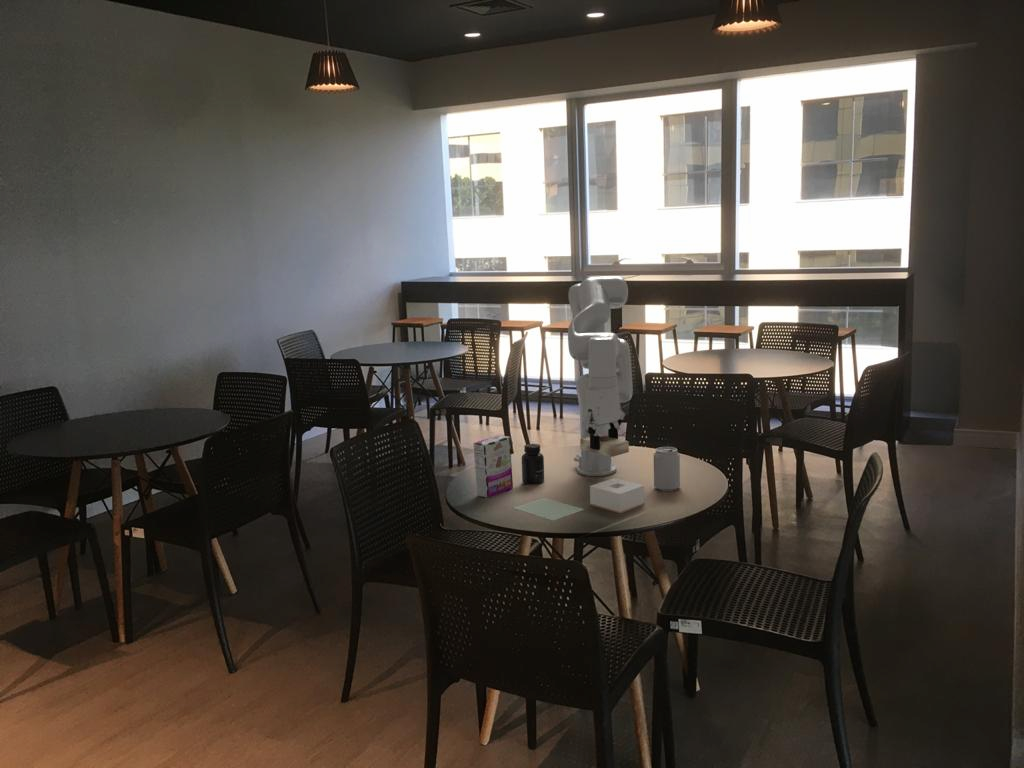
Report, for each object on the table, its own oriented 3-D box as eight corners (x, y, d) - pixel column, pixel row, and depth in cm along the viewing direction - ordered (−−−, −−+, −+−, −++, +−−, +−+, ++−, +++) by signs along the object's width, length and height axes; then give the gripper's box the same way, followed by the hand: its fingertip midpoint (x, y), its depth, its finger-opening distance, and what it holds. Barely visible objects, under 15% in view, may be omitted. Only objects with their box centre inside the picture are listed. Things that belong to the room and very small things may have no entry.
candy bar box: (501, 486, 256) (499, 434, 253) (513, 489, 253) (511, 436, 250) (475, 496, 248) (472, 442, 245) (487, 499, 245) (484, 444, 242)
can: (679, 492, 243) (679, 452, 241) (653, 491, 244) (653, 452, 242) (680, 484, 250) (679, 445, 248) (654, 484, 252) (654, 445, 249)
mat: (513, 509, 234) (512, 507, 234) (543, 499, 242) (543, 497, 242) (553, 522, 222) (553, 520, 222) (584, 511, 230) (584, 509, 230)
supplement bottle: (542, 486, 254) (541, 448, 252) (520, 486, 255) (519, 448, 253) (546, 480, 261) (544, 442, 259) (524, 479, 262) (522, 442, 260)
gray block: (590, 506, 234) (589, 486, 233) (614, 498, 240) (613, 478, 239) (620, 515, 226) (620, 493, 224) (644, 506, 232) (644, 485, 231)
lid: (580, 449, 232) (580, 435, 232) (596, 444, 237) (596, 430, 236) (612, 456, 223) (612, 442, 223) (628, 452, 227) (628, 437, 227)
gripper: (614, 376, 235) (615, 438, 238) (569, 385, 224) (572, 450, 227) (634, 379, 229) (635, 442, 232) (590, 388, 218) (591, 455, 221)
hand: (604, 446), depth 230 cm, fingers closed on lid, 6 cm apart
